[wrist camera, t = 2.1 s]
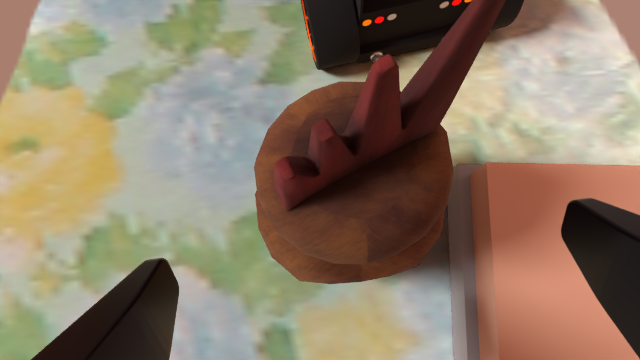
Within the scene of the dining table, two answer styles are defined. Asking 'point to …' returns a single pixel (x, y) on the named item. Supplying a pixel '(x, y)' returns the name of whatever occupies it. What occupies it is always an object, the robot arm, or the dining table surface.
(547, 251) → the brick plinth
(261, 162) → the wooden figurine
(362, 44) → the black toy car
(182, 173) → the dining table surface
